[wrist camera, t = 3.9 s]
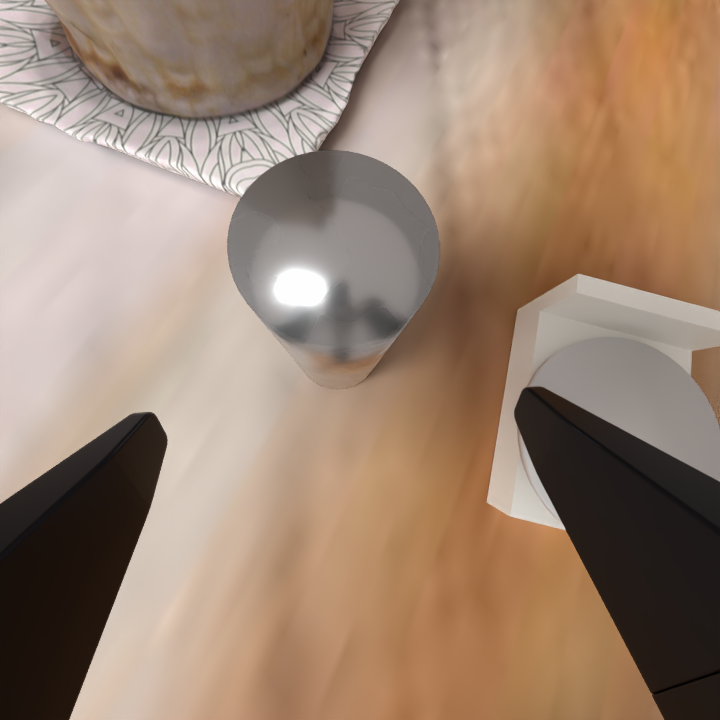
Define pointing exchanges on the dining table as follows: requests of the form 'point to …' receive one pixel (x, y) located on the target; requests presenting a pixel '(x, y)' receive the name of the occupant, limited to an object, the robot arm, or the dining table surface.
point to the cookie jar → (189, 76)
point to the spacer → (333, 259)
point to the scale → (607, 379)
